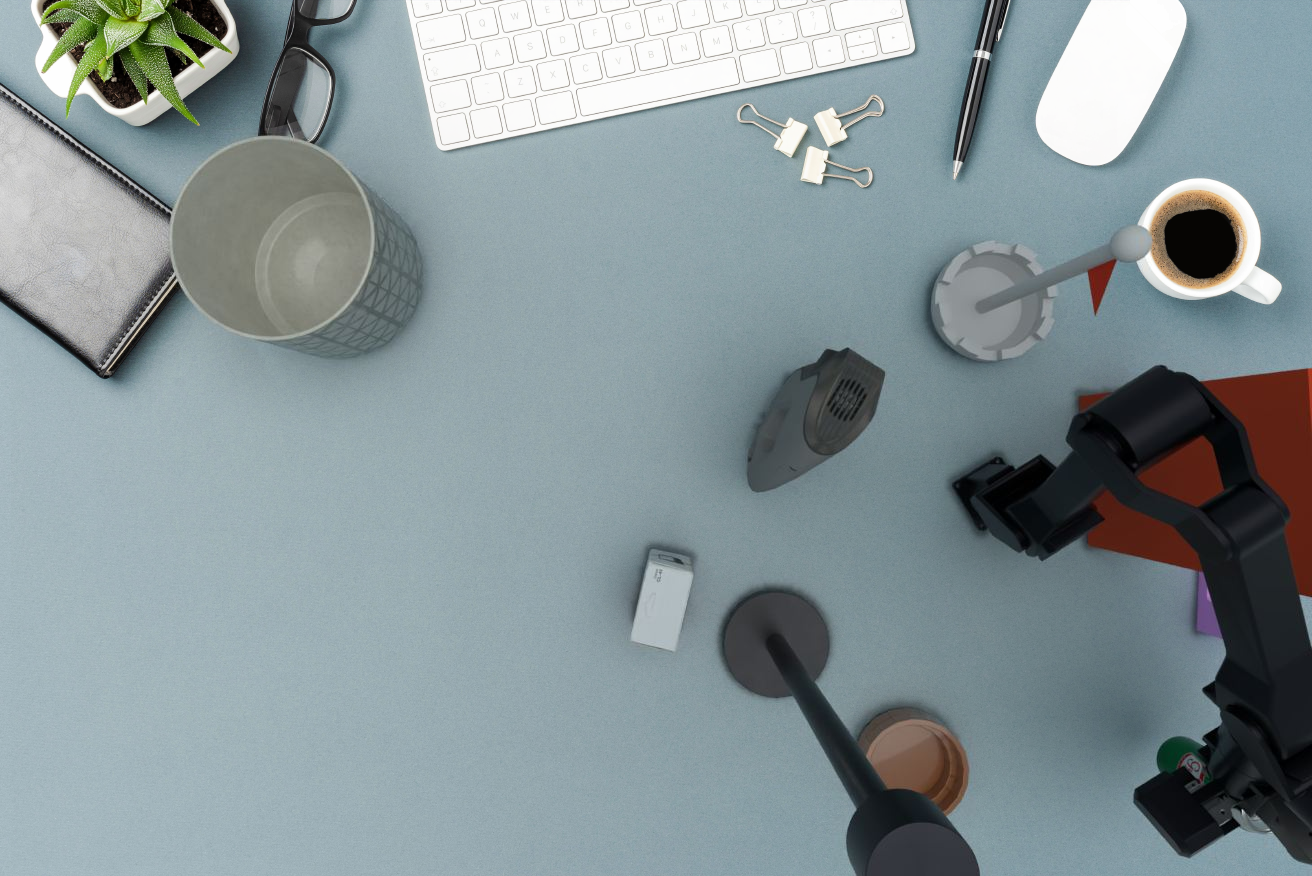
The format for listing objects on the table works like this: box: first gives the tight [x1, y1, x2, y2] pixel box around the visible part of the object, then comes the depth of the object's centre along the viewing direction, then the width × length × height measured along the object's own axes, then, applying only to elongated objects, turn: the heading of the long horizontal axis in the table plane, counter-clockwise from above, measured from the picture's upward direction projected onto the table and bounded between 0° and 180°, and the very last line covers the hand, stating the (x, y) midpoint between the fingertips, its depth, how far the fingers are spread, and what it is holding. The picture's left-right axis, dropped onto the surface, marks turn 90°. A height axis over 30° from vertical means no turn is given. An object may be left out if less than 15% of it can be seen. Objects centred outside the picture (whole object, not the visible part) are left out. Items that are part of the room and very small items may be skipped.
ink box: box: [629, 548, 694, 653], centre depth 83 cm, size 9×5×12 cm, turn 167°
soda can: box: [1156, 735, 1273, 836], centre depth 77 cm, size 5×5×12 cm
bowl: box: [856, 707, 970, 817], centre depth 87 cm, size 12×12×4 cm
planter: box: [168, 135, 424, 360], centre depth 80 cm, size 19×19×18 cm
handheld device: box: [746, 346, 886, 493], centre depth 77 cm, size 6×15×25 cm, turn 147°
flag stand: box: [930, 224, 1153, 363], centre depth 74 cm, size 13×13×30 cm
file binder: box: [1078, 367, 1312, 598], centre depth 73 cm, size 8×17×32 cm, turn 3°
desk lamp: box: [722, 589, 981, 876], centre depth 64 cm, size 12×12×49 cm
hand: (1228, 796), depth 76 cm, fingers closed on soda can, 5 cm apart
